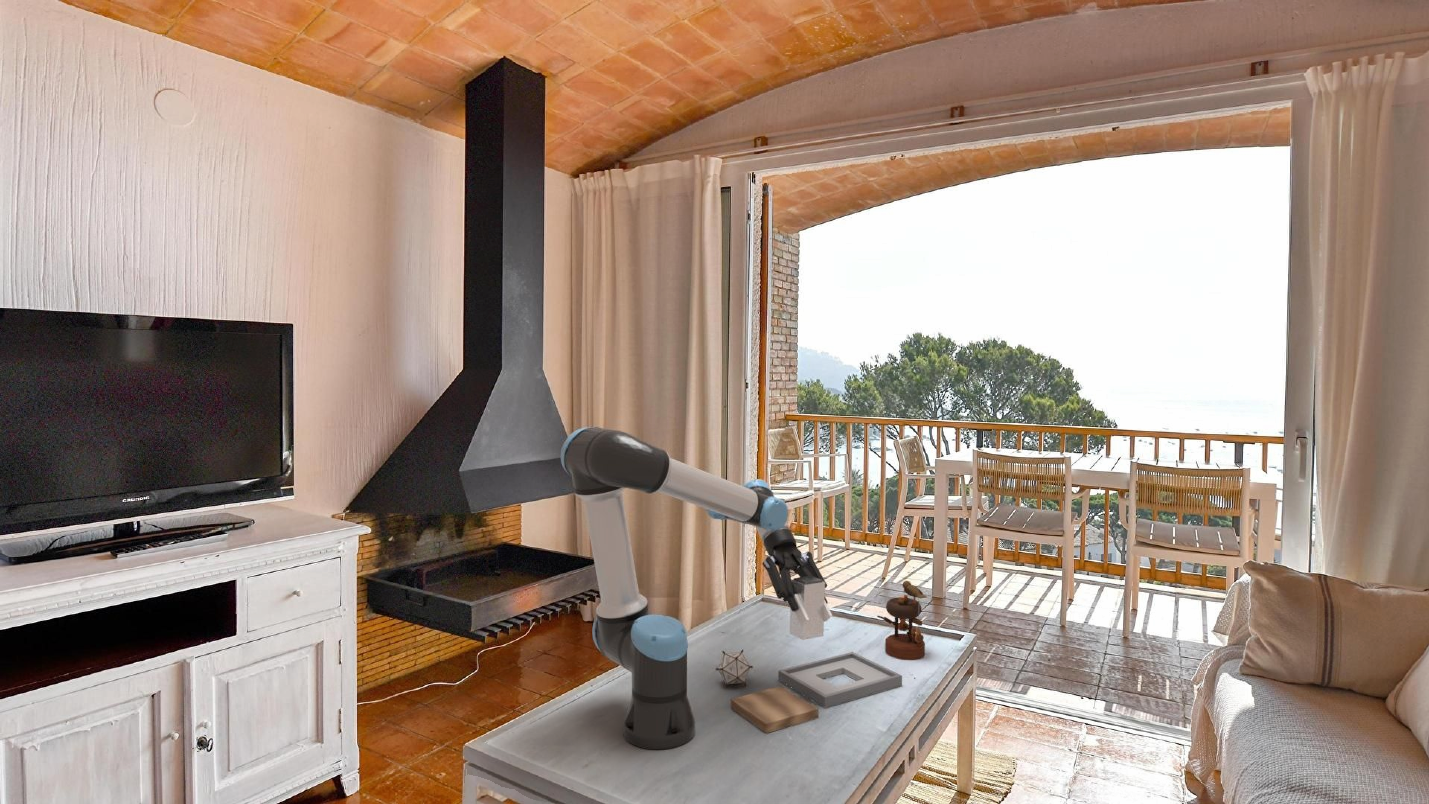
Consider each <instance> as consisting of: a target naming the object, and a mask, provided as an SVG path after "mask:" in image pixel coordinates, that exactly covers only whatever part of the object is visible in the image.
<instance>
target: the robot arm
mask: <svg viewBox="0 0 1429 804" xmlns="http://www.w3.org/2000/svg"><path fill="white" fill-rule="evenodd" d="M560 462H561V465H562V468H563V469H564V471H565V472H566V473H567V474H568V475H569V476H570V477H571V479H572V485H573V490H574V495H575V496H576V497H578V498H579V499H581V500H582V501H583V505H584V511H585V517H586V523H587V528H588V533H589V534H588V535H589V539H590V544H591V550H592V556H593V562H594V568H595V574H596V578H597V579H596V580H597V585H598V591H599V596H600V600H601V601H600V602H599V604H598V605H597V606H596V609H595V614H596V617H595V618H596V619H595V620H594V621H593V625H592V631H591V632H592V640H593V643H594V645H595V647H596V648H597V649H598V650H599V651H600V652H601V654H602V655H603V656H604V657H606V659H609V660H611V661H612V662H614V663H616V664H617V665H619V666H621V667H622V668H623V669H626V670H627V671H629V672H630V673H631V699H630V701H629V705H628V707H627V711H626V714H625V717H624V720H623V736H624V739H625V740H626V742H628V743H630V744H632V745H634V746H635V747H639V748H642V749H649V750H666V749H671V748H676V747H679V746H682V745H684V744H686V743H688V742H689V741H690V740H692V738H694V736H695V734H696V719H695V716H694V712H693V710H692V708H691V704H690V700H689V697H688V647H689V642H688V636H687V629H686V627H685V625H684V624H683V623H682V622H681V621H680V620H678V619H677V618H675V617H672V616H669V615H666V616H664V615H663V614H650V608H649V604H648V602H649V601H648V598H647V597H645V595H642V594H641V593H640V591H639V585H638V580H637V579H638V578H637V573H636V567H635V561H634V555H633V549H632V543H631V537H630V531H629V525H628V520H627V519H628V518H627V514H626V507H625V502H624V496H623V492H624V491H625V489H628V490H629V489H630V490H634V491H635V490H636V491H638V492H639V491H640V492H643V493H646V494H649V495H652V494H656V493H657V492H658V493H661V494H663V495H666V496H668V497H672V498H675V499H678V500H680V501H683V502H686V503H689V504H692V505H695V506H698V507H701V508H703V509H705V511H706V513H707V515H708V516H709V518H711V519H714V520H721V521H723V520H729V521H732V522H738V523H740V524H741V523H742V524H745V525H750V526H752V527H755V528H756V530H757V533H758V535H759V537H760V539H761V541H762V542H763V543H762V544H763V546H764V548H765V551H766V553H767V554H768V556H767V557H766V558H765V559H764V560H763V562H762V563H761V564H762V566H763V568H764V569H765V570H766V571H767V574H768V576H769V579H770V582H771V584H772V587H773V590H774V593H775V595H776V597H777V598H778V599H780V600H781V599H782V601H783V602H785V603H788V607H789V609H790V608H791V610H792V611H793V612H795V614H796V616H797V618H798V620H799V622H800V625H801V626H804V625H805V624H806V622H807V621H808V620H809V618H808V616H807V614H806V612H805V609H804V607H803V605H802V603H801V601H800V599H799V597H798V595H797V594H795V595H794V596H793V594H794V592H793V587H792V582H791V580H792V576H791V571H793V572H794V573H795V574H796V575H798V577H799V578H800V577H807V576H813V577H815V578H818V579H821V580H823V582H825V589H826V588H827V587H828V583H827V582H826V581H825V578H824V577H823V575H822V573H821V572H820V569H819V568H818V566H817V564H816V563H815V561H814V559H813V558H814V557H813V553H812V552H811V551H807V553H805V552H802V551H801V550H800V549H799V548H798V546H797V541H796V538H795V535H793V532H792V530H791V529H790V526H789V524H788V518H789V507H788V506H787V503H786V502H785V501H784V500H783V499H781V498H778V497H776V496H775V495H774V493H773V490H772V489H771V488H770V486H769V484H768V483H767V481H765V480H764V479H759V478H757V479H754V480H750V481H748V482H746V483H744V484H743V485H741V484H738V483H735V482H733V481H730V480H727V479H725V478H723V477H720V476H718V475H715V474H712V473H710V472H707V471H705V470H702V469H699V468H696V467H695V466H693V465H689V464H687V463H684V462H681V461H679V460H677V459H674V458H671V457H670V454H669V453H668V451H666V450H665V449H662V448H659V447H657V446H655V445H652V444H651V443H648V442H646V441H644V440H643V439H640V438H638V437H636V436H634V435H632V434H630V433H628V432H625V431H622V430H618V429H616V430H615V429H609V428H601V427H599V426H591V427H582V428H578V429H577V430H575V431H573V432H572V433H571V434H570V435H568V436H567V438H566V439H565V441H564V443H563V444H562V447H561V450H560ZM832 616H833V613H832V612H831V610H830V607H829V606H828V599H827V598H826V597H825V598H824V623H825V622H827V621H828V620H830V618H831V617H832Z"/></svg>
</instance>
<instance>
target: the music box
mask: <svg viewBox="0 0 1429 804" xmlns="http://www.w3.org/2000/svg"><path fill="white" fill-rule="evenodd" d="M902 588H903V593H905V594H903V597H902V596H899V597H892V598H889V600H887V602H886V604H885V609H886V612H887V613H888V615H889V616H891V617H892V618H893V617H894V621H893V620H891V619H890V618H888V617H886V616H882V615H876V616H877V618H879V619H882V620H883V621H884V622H886V623H888V624H889V625H891V624H892V626H894V633H893V634H890V635H888V636H887V637H886V638H885V639H884V641H885V643H884V647H885V648H884V649H885V651H884V652H885V654H886V655H887V656H889V657H892V658H893V659H898V660H904V661H917V660H920V659H923V658H924V657H925V655H926V653H925V651H926V643H925V641H924V639H925V636H924V635H923V634H922V633H921V630H920V628H919V627H921V626H923V620H921V619H920V615H921V613H922V605H921V603H920V599H926V598H928V596H927V595H926V594H924V593H923V592H922V590H920V589H919V587H918V586H916V585H913V584H912V582H911V581H909V580H904V581H903V582H902ZM908 596H909V597H910V598H909V597H908ZM911 597H913V598H911ZM916 598H917V599H918V600H916ZM906 620H908V623H907V622H906ZM913 624H915V625H918V628H917V627H916V626H913ZM899 631H900V632H901V631H903V632H906V633H899Z"/></svg>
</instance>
